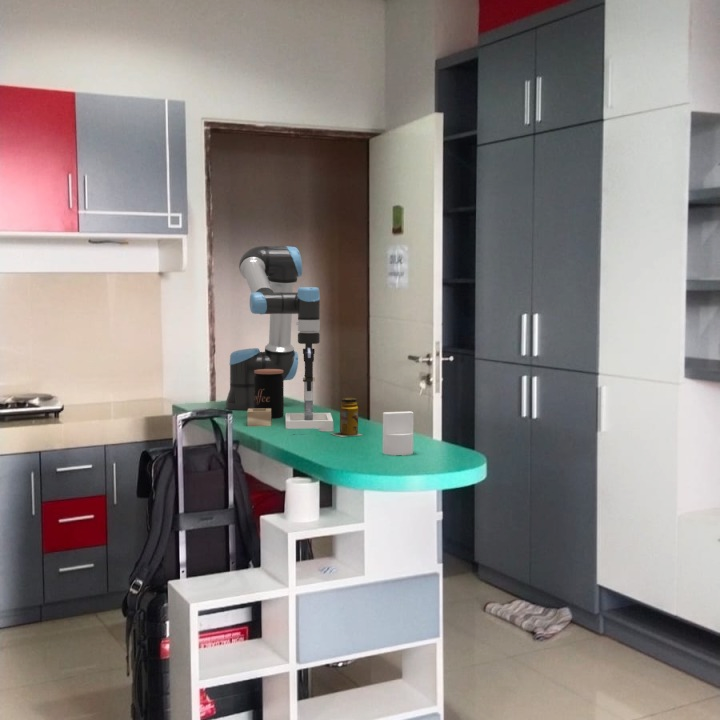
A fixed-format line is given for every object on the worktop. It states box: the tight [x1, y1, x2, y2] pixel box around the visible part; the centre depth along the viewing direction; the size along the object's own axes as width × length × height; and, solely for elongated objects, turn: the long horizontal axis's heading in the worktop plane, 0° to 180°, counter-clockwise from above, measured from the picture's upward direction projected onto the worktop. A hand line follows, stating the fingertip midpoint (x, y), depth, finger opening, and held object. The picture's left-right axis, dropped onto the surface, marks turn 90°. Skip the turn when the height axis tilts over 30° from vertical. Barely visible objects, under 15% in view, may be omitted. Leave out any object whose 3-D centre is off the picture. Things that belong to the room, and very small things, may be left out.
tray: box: [284, 412, 334, 432], centre depth 330 cm, size 20×16×4 cm
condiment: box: [330, 397, 363, 438], centre depth 314 cm, size 7×8×12 cm
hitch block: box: [246, 408, 272, 427], centre depth 328 cm, size 8×8×6 cm
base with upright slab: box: [382, 410, 414, 456], centre depth 281 cm, size 9×9×12 cm
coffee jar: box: [254, 369, 285, 420], centre depth 347 cm, size 11×11×18 cm
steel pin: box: [302, 376, 315, 420], centre depth 329 cm, size 4×4×15 cm
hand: (308, 399), depth 329 cm, fingers closed on steel pin, 4 cm apart
